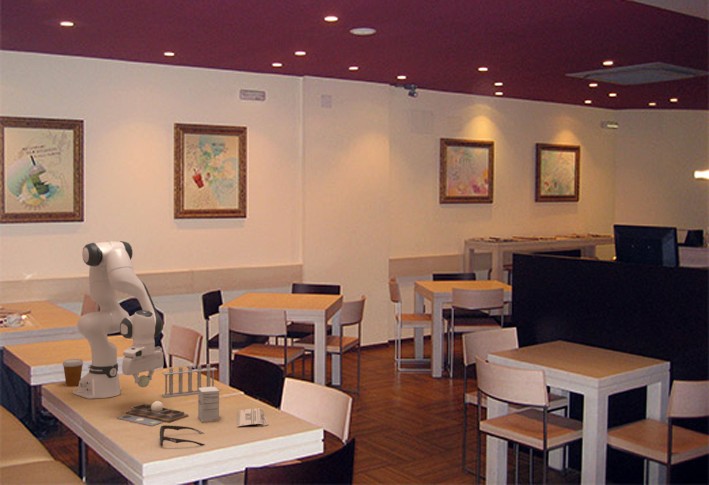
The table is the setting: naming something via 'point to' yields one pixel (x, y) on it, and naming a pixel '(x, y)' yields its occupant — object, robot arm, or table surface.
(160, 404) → the cream ball
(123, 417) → the pattern card
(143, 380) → the sage ball
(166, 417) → the socket board
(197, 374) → the test tube rack
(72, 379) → the disposable coffee cup
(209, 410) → the supplement box
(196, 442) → the sunglasses
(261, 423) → the newspaper
